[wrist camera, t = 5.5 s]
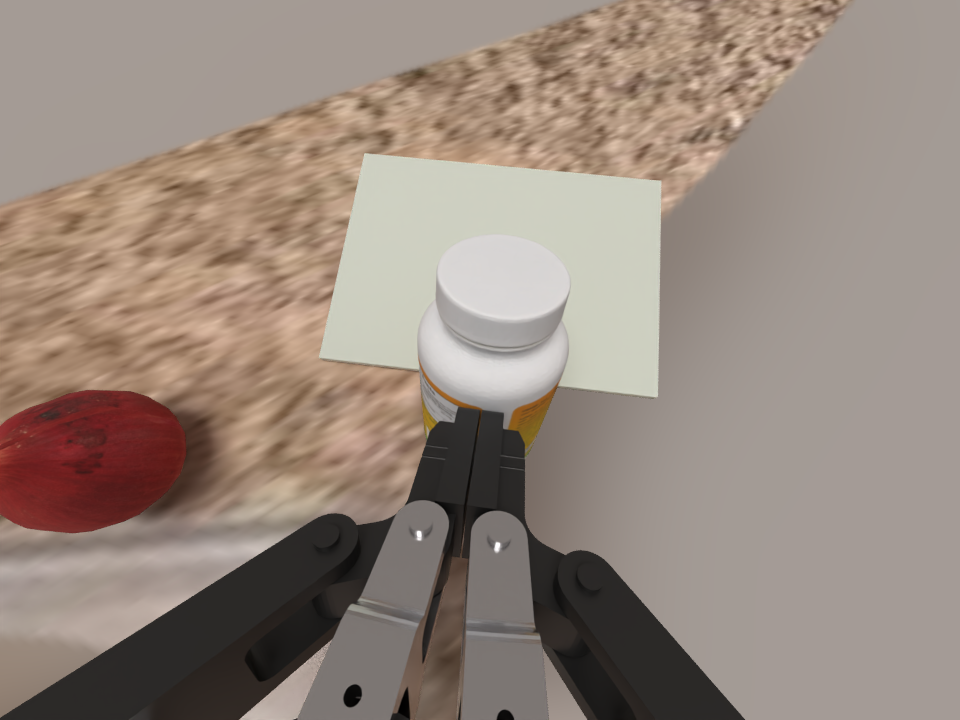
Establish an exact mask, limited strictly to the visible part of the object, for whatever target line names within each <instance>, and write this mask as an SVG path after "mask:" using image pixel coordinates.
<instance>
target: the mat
mask: <svg viewBox="0 0 960 720" xmlns="http://www.w3.org/2000/svg"><path fill="white" fill-rule="evenodd" d="M660 227H661V181H657V180H646V179H635V178H624V177H614V176H603V175H592V174H581V173H571V172H560V171H549V170H538V169H528V168H517V167H506V166H496V165H485V164H474V163H463V162H453V161H442V160H431V159H420V158H410V157H399V156H388V155H377V154H367V153H365V154H364V158H363V163H362V167H361V172H360V176H359V181H358V185H357V190H356V194H355V199H354V203H353V208H352V212H351V217H350V221H349V225H348V230H347V234H346V239H345V243H344V248H343V252H342V257H341V261H340V266H339V270H338V275H337V279H336V283H335V288H334V292H333V297H332V301H331V306H330V310H329V315H328V319H327V324H326V328H325V333H324V337H323V342H322V346H321V350H320V355H319V358H320V359H322V360H326V361H335V362H343V363H352V364H360V365H369V366H377V367H386V368H394V369H403V370H412V371H419V361H418V348H417V335H418V328H419V325H420V321H421V319H422V317H423V315H424V313H425V311H426V310H427V308H428V307H429V305H430V304H431V303H432V302H433V301H434V300H435V299H436V296H435V294H436V271H437V266H438V263H439V261H440V258H441V257H442V255H443V254H444V253H445V252H446V251H447V250H448V249H449V248H450V247H451V246H453V245H454V244H456V243H458V242H460V241H462V240H464V239H467V238H471V237H474V236H479V235H488V234H503V235H511V236H517V237H521V238H525V239H528V240H530V241H534V242H536V243H538V244H540V245H542V246H544V247H546V248H547V249H549V250H550V251H552V252H553V253H554V254H555V255H557V256H558V257H559V258H560V259H561V261H562V262H563V263H564V264H565V266H566V268H567V270H568V272H569V275H570V280H571V287H570V293H569V297H568V300H567V303H566V306H565V310H564V313H563V317H562V319H561V320H562V321H563V323H564V325H565V328H566V331H567V334H568V339H569V355H568V360H567V363H566V366H565V369H564V372H563V375H562V377H561V380H560V382H559V384H558V387H557V388H565V389H573V390H582V391H590V392H599V393H609V394H616V395H625V396H633V397H642V398H651V399H654V398H658V358H659V357H658V356H659V292H660V291H659V290H660Z"/></svg>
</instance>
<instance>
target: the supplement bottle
mask: <svg viewBox="0 0 960 720" xmlns="http://www.w3.org/2000/svg"><path fill="white" fill-rule="evenodd" d="M570 287H571V280H570V275H569V272H568V270H567V268H566V266H565V264H564V263H563V262H562V261H561V259H560V258H559V257H558V256H557V255H555V254H554V253H553V252H552V251H550V250H549V249H547V248H546V247H544V246H542V245H540V244H538V243H536V242H534V241H530V240H528V239H525V238H521V237H517V236H511V235H503V234H488V235H479V236H474V237H471V238H467V239H464V240H462V241H460V242H458V243H456V244H454V245H453V246H451V247H450V248H449V249H448V250H447V251H446V252H445V253H444V254H443V255H442V257H441V258H440V261H439V263H438V266H437V271H436V294H435V296H436V299H435V300H434V301H433V302H432V303H431V304H430V305H429V307H428V308H427V310H426V311H425V313H424V315H423V317H422V319H421V321H420V325H419V328H418V335H417V348H418V361H419V371H420V384H421V395H422V407H423V418H424V430H425V436H426V440H427V439H428V435H429V432H430V431H431V429H432V428H433V427H434V426H435V425H436V424H437V423H438V422H439V421H446V422H453V423H454V421H455V417H456V413H457V409H458V407H463V408H470V409H478V410H480V418H479V426H480V420H481V413H482V410H487V411H494V412H502V413H504V421H503V429H507V430H515V431H519V433H520V435H521V437H522V439H523V441H524V443H525V458H526V457H527V455H528V454H529V452H530V450H531V448H532V446H533V444H534V441H535V439H536V437H537V434H538V431H539V429H540V427H541V424H542V422H543V419H544V417H545V415H546V412H547V410H548V408H549V405H550V403H551V401H552V398H553V396H554V394H555V391H556V389H557V387H558V384H559V382H560V380H561V377H562V375H563V372H564V369H565V366H566V363H567V360H568V355H569V339H568V334H567V331H566V328H565V325H564V323H563V321H562V320H561V319H562V317H563V313H564V310H565V306H566V303H567V300H568V297H569V293H570ZM478 432H479V428H478ZM477 439H478V438H477Z"/></svg>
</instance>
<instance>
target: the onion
mask: <svg viewBox="0 0 960 720" xmlns="http://www.w3.org/2000/svg"><path fill="white" fill-rule="evenodd" d="M185 457H186V439H185V433H184V431H183V429H182V427H181V425H180V423H179V421H178V419H177V418H176V416H175V415H174V414H173V413H172V412H171V411H170V410H169V409H168V408H167V407H165V406H163V405H161V404H160V403H158V402H156V401H155V400H153V399H151V398H149V397H147V396H144V395H141V394H138V393H134V392H131V391H103V390H85V391H80V392H75V393H69V394H66V395H64V396H61V397H59V398H56V399H54V400H51V401H49V402H46V403H43V404H40V405H37V406H33V407H31V408H28V409H26V410H24V411H22V412H20V413H18V414H16V415H14V416H13V417H11V418H9V419H8V420H6V421H5V422H4V423H3V424H2V425H1V426H0V514H1V515H2V516H4V517H5V518H7V519H9V520H10V521H12V522H13V523H15V524H18V525H20V526H23V527H25V528H29V529H37V530H45V531H55V532H65V533H80V532H89V531H94V530H97V529H101V528H104V527H107V526H110V525H114V524H117V523H120V522H123V521H126V520H128V519H130V518H132V517H135V516H137V515H139V514H140V513H142V512H143V511H144V510H145V509H147V508H148V507H149V506H150V505H152V504H153V503H154V502H156V501H157V500H158V499H159V498H161V497H162V496H163V495H164V494H165V493H166V492H167V491H168V490H169V489H170V487H171V486H172V485H173V483H174V482H175V480H176V479H177V478H178V476H179V475H180V474H181V470H182V467H183V464H184V460H185Z"/></svg>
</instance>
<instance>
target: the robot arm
mask: <svg viewBox="0 0 960 720" xmlns="http://www.w3.org/2000/svg"><path fill="white" fill-rule="evenodd" d="M479 418H480V410H478V409H470V408H463V407H458V409H457V413H456V417H455V421H454V423H453V422H446V421H439V422H438V423H437V424H436V425H435V426H434V427H433V428H432V429H431V431H430V432H429V435H428V439H427V442H426V446H425V448H424V451H423V454H422V458H421V461H420V464H419V467H418V470H417V473H416V476H415V480H414V483H413V486H412V489H411V492H410V495H409V498H408V501H407V503H406V504H405V506H404V507H403V508H401V509H400V510H399V511H398V513H397V514H395V515H394V516H392V517H390V518H388V519H386V520H383V521H379V522H374V523H368V524H362V525H356V524H355V522H354V521H353V520H352V519H351V518H350V517H348V516H346V515H343V514H335V513H334V514H327V515H323V516H321V517H318V518H316V519H315V520H313V521H311V522H310V523H308V524H306V525H305V526H303V527H302V528H300V529H299V530H297V531H295V532H294V533H292V534H291V535H289V536H287V537H286V538H284V539H283V540H281V541H280V542H278V543H276V544H275V545H273V546H272V547H270V548H268V549H267V550H265V551H264V552H262V553H261V554H259V555H257V556H256V557H254V558H253V559H251V560H249V561H248V562H246V563H245V564H243V565H242V566H240V567H238V568H237V569H235V570H234V571H232V572H230V573H229V574H227V575H226V576H224V577H223V578H221V579H219V580H218V581H216V582H215V583H213V584H211V585H210V586H208V587H207V588H205V589H203V590H202V591H200V592H199V593H197V594H196V595H194V596H192V597H191V598H189V599H188V600H186V601H184V602H183V603H181V604H180V605H178V606H177V607H175V608H173V609H172V610H170V611H169V612H167V613H165V614H164V615H162V616H161V617H159V618H158V619H156V620H154V621H153V622H151V623H150V624H148V625H146V626H145V627H143V628H142V629H140V630H139V631H137V632H135V633H134V634H132V635H131V636H129V637H127V638H126V639H124V640H123V641H121V642H120V643H118V644H116V645H115V646H113V647H112V648H110V649H108V650H107V651H105V652H104V653H102V654H101V655H99V656H97V657H96V658H94V659H93V660H91V661H89V662H88V663H87V664H85V665H83V666H82V667H80V668H78V669H77V670H75V671H74V672H72V673H71V674H69V675H67V676H66V677H64V678H63V679H61V680H59V681H58V682H56V683H55V684H53V685H51V686H50V687H48V688H47V689H45V690H43V691H42V692H40V693H39V694H37V695H36V696H34V697H32V698H31V699H29V700H28V701H26V702H24V703H23V704H21V705H20V706H18V707H17V708H15V709H13V710H12V711H10V712H9V713H7V714H6V715H4V716H2V717H1V718H0V720H239V719H240V718H241V717H242V716H244V715H245V714H246V713H247V712H248V711H249V710H251V709H252V708H253V707H254V706H255V705H256V704H258V703H259V702H260V701H261V700H262V699H263V698H264V697H266V696H267V695H268V694H269V693H270V692H271V691H273V690H274V689H275V688H276V687H277V686H278V685H279V684H281V683H282V682H283V681H284V680H285V679H286V678H288V677H289V676H290V675H291V674H292V673H293V672H294V671H296V670H297V669H298V668H299V667H300V666H301V665H303V664H304V663H305V662H306V661H307V660H308V659H309V658H311V657H312V656H313V655H314V654H315V653H316V652H318V651H319V650H320V649H321V648H322V647H323V646H325V645H326V644H327V643H328V642H329V641H330V640H331V639H333V640H332V642H331V644H330V646H329V649H328V651H327V653H326V655H325V658H324V660H323V662H322V664H321V667H320V669H319V671H318V673H317V676H316V678H315V680H314V682H313V685H312V687H311V689H310V691H309V694H308V696H307V698H306V700H305V703H304V705H303V707H302V709H301V712H300V714H299V716H298V718H296V719H294V720H415V716H416V712H417V708H418V704H419V699H420V695H421V689H422V684H423V677H424V672H425V667H426V663H427V659H428V655H429V651H430V647H431V643H432V639H433V635H434V631H435V627H436V623H437V619H438V615H439V611H440V607H441V603H442V599H443V595H444V591H445V586H446V582H447V580H448V576H449V571H450V565H451V559H452V556H453V557H460V552H461V546H462V539H463V533H464V543H463V554H462V558H468V566H467V575H466V585H465V596H464V612H463V628H462V644H461V660H460V675H459V688H458V701H457V715H456V720H549V717H548V716H549V715H548V704H547V693H546V682H545V672H544V661H543V650H542V647H543V649H544V651H545V652H546V654H547V656H548V657H549V659H550V660H551V662H552V663H553V665H554V667H555V668H556V670H557V672H558V673H559V675H560V676H561V678H562V680H563V681H564V683H565V684H566V686H567V688H568V689H569V691H570V692H571V694H572V696H573V697H574V699H575V700H576V702H577V704H578V705H579V707H580V709H581V710H582V712H583V713H584V715H585V716H586V718H587V720H745V719H744V718H743V717H742V716H741V714H740V713H739V712H738V711H737V710H736V709H735V708H734V706H733V705H732V704H731V703H730V702H729V701H728V700H727V698H726V697H725V696H724V695H723V694H722V693H721V692H720V690H718V688H717V687H716V686H715V685H714V684H713V683H712V681H711V680H710V679H709V678H708V677H707V676H706V675H705V673H704V672H703V671H702V670H701V669H700V668H699V667H698V665H696V663H695V662H694V661H693V660H692V659H691V657H690V656H689V655H688V654H687V653H686V652H685V651H684V649H683V648H682V647H681V646H680V645H679V644H678V643H677V641H676V640H675V639H674V638H673V637H672V636H671V635H670V633H669V632H668V631H667V630H666V629H665V628H664V627H663V625H662V624H661V623H660V622H659V621H658V620H657V619H656V617H655V616H654V615H653V614H652V613H651V612H650V611H649V609H648V608H647V607H646V606H645V605H644V604H643V603H642V602H641V600H640V599H639V598H638V597H637V596H636V595H635V594H634V592H633V591H632V590H631V589H630V588H629V587H628V586H627V584H626V583H625V582H624V581H623V580H622V579H621V578H620V576H619V575H618V574H617V573H616V572H615V571H614V569H613V568H612V567H611V566H610V565H609V564H608V563H607V562H606V561H605V560H604V559H602V558H601V557H600V556H598V555H596V554H594V553H591V552H588V551H582V550H580V551H573V552H570V553H569V554H567V555H564V554H562V553H560V552H558V551H556V550H554V549H551V548H550V547H548V546H546V545H544V544H542V543H541V542H540V541H538V540H537V539H536V538H535V537H534V536H533V534H532V533H531V532H530V530H529V528H528V526H527V524H526V521H525V507H524V506H525V502H524V501H525V443H524V441H523V439H522V437H521V435H520V433H519V431H515V430H507V429H503V421H504V413H502V412H494V411H487V410H482V413H481V420H480V426H479ZM478 428H479V432H478ZM477 438H478V439H477ZM465 520H466V522H465ZM464 527H465V532H464Z"/></svg>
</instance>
